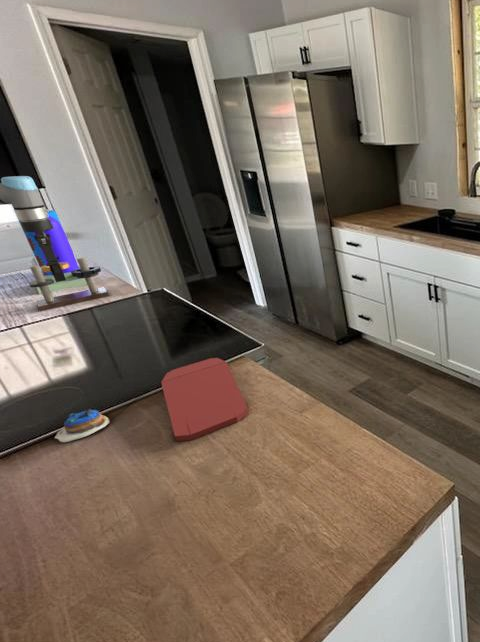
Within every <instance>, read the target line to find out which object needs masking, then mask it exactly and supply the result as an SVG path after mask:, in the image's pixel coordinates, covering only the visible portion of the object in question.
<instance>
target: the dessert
mask: <svg viewBox="0 0 480 642" xmlns="http://www.w3.org/2000/svg"><path fill="white" fill-rule="evenodd" d="M110 422H111V420H110V419H109V417H107V416H106V415H103V414H101V412H100V411H99V410H96V409H90V408H88V409H87V410H84V411H81V412H78V413H77V412H76V413H70V414H69V416H68V418H67V419H66V420H65V421H64V422H63V428H62V429H60V430H59V431H58V432H57V433H56V435H55V436H54V439H57V440H58V441H59V442H60V443H68V442H72V441H75V440H79V439H82V438H85V437H87V436H88V437H89V436H90V435H91V434H94V433H95V432H98V431H100V430H101V429H104V428H105V427H106V426H107V425H108V424H110Z"/></svg>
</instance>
